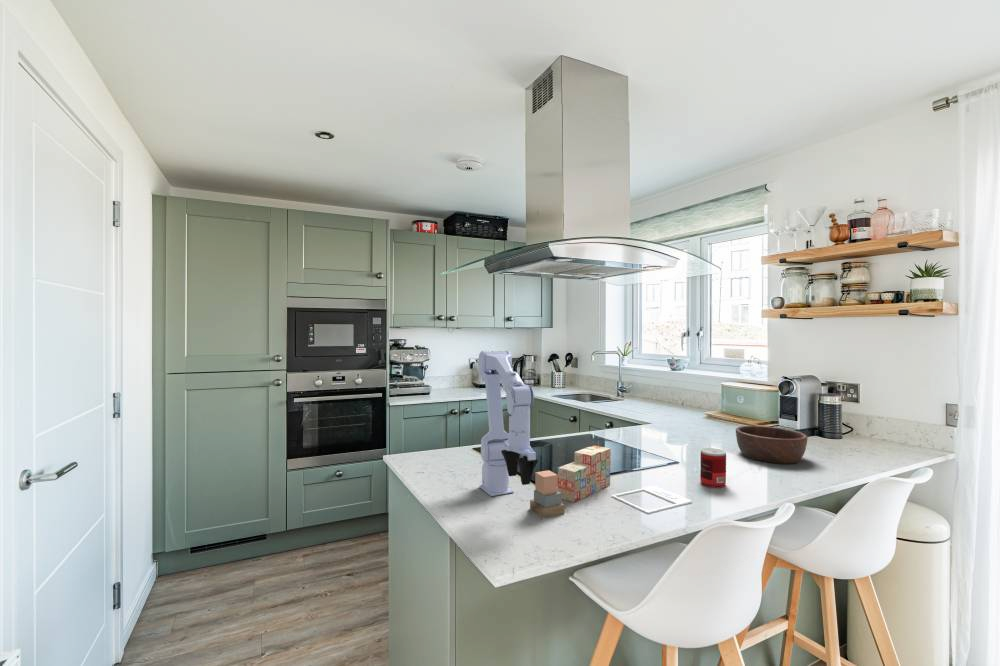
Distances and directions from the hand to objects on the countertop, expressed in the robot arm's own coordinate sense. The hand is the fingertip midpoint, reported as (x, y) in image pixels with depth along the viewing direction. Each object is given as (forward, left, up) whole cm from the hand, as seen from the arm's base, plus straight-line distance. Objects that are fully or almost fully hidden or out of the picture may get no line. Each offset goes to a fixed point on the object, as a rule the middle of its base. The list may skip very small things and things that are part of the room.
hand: (518, 479), depth 125 cm
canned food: (+4, +71, -10) cm, 72 cm away
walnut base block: (0, +9, -10) cm, 14 cm away
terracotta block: (0, +9, -4) cm, 10 cm away
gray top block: (+1, +9, -7) cm, 12 cm away
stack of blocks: (-8, +28, -10) cm, 31 cm away
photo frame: (+6, +42, -11) cm, 44 cm away
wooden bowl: (-9, +120, -10) cm, 121 cm away
